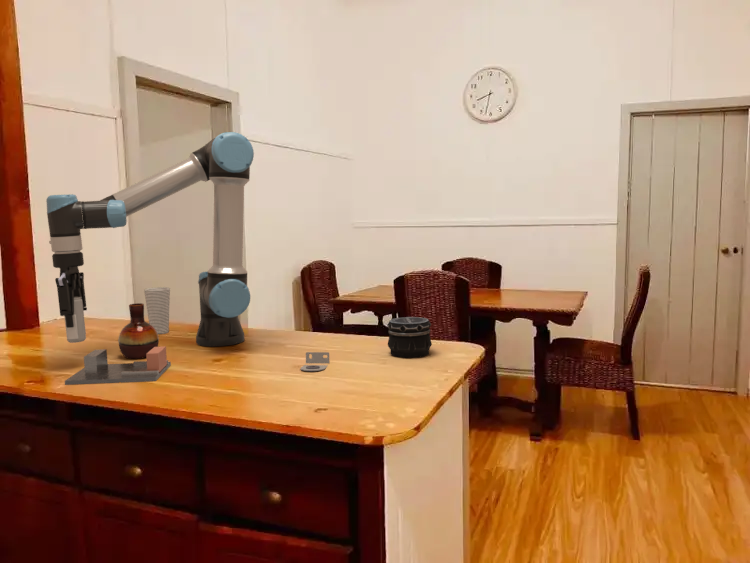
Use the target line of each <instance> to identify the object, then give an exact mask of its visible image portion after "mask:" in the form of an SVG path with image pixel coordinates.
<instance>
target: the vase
mask: <svg viewBox="0 0 750 563" xmlns="http://www.w3.org/2000/svg"><path fill="white" fill-rule="evenodd" d="M128 310H129V316H130V321H129V323H127V324H125V326H123V328H122V329H121V330H120V332H119V335H118V342H117V343H118V346H119V351H120V352H121V355H123V357H124V358H126V359H129V360H141V359H147V358H146V354H147V353H148V352H149V351H150V350H151V349H153V348H154V347H159V342H160V341H159V339H160V338H159V334H158V333H157V331H156V329H155V328H154V327H153V326H152V325H151V324H149V322H147V321H145V304H144V303H141V302H139V303H138V302H137V303H130V304H129V305H128Z"/></svg>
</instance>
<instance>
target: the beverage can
mask: <svg viewBox="0 0 750 563" xmlns="http://www.w3.org/2000/svg"><path fill="white" fill-rule="evenodd" d="M74 315H76V321H77V330H78V339H67V338H66V340H67V342H68V343H72V344H73V343H75V344H76V343H81V342H85V340H86V339H87V335H86V334H87V332H86V333H85V330H86V323H85V322H86V321H85V312H84V311H83V302H82V299H81V297H74ZM84 321H85V322H84Z"/></svg>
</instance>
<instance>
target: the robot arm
mask: <svg viewBox="0 0 750 563" xmlns="http://www.w3.org/2000/svg"><path fill="white" fill-rule="evenodd" d="M254 154H255V152H254V147H253V145H252V143H251V141H250V140H249V139H248V138H247V137H246V136H245V135H243V134H242V133H239V132H236V131H235V132H234V131H230V132H229V131H228V132H227V131H225V132H222V133H219V134H218V135H217V136H215V137H213V138H212V139H210V140H209V141H208V142H207V143H205V145H203V146H201V147H200V148H199V149H197V150H195V151H193V152H191V153H189V155H188V156H189V157H188V158H186V159H183V160H181V161H180V162H177V163H175V164H172V165H171V166H169V167H167V168H165V169H163V170H161V171H158V172H157V173H154V174H152V175H150V176H148V177H146V178H144V179H142V180H140V181H137V182H136V183H135V182H134V184H131V185H129V186H127V187H125V188H124V189H120V190H119V191H117V192H115V193H112V194H111V195H109V196H106V197H104V198H102V199H100V200H89V201H88V200H87V201H85V200H82V201H80V200H79V199H78V197H77V195H76V194H73V193H72V194H71V193H70V194H51V195H48V196H47V197H46V201H45V202H46V216H47V224H48V231H49V237H50V240H49V244H50V246H51V252H53V254H52V255H51V258H52V259H51V260H52V266H53V268H55V269H56V268H57V269H59V277H55V284H56V289H57V299H58V307H59V315H60V317H63V318H64V323H65V334H66V340H67V339H78V330H77V321H76V315H74V297H81V299H82V302H83V312H84V311H87V310H88V308H87V300H86V290H85V289H86V288H85V283H84V282H85V281H84V280H85V277H84V276H85V274H84V272H80V270H79V267H82V266H84V264H85V263H84V262H85V261H84V253H83V252H82V250H83V248H84V247H83V240H82V233H81V230H87V229H88V230H89V229H111V228H113V229H116V228H123V227H126V225H127V222H128V221H127V217H129V216H131V215H132V214H135V213H137V212H139V211H142V210H144V209H145V208H148V207H150V206H152V205H154V204H155V203H156V204H157V203H158V202H160V201H162V200H164V199H166V198H168V197H170V196H172V195H173V194H174V195H175V194H176V193H178V192H180V191H182V190H185V189H187V188H189V187H190V186H192V185H194V184H197V183H199V182H204V183H207V182H208V181H211V182H212V183H213V186H214V188H213V190H214V193H213V236H212V237H213V241H212V242H213V244H212V245H213V247H212V248H213V249H212V250H213V251H212V266H211V267H210V268H209V269H207V271H202V272H200V273H199V274H198V281H197V284H198V291H199V307H200V308H199V310H200V321H199V325H198V329H197V332H196V335H195V336H196V337H195V339H196V340H195V341H196V342H195V343H196V345H198V346H201V347H225V346H232V345H237V344H240V343H243V342H244V341H245V332H244V330H243V327H242V324H241V322H240V319H239V316H240V315H242V314H243V313H244V312H246V310H247V309H248V308H249V306H250V303H251V292H250V289H249V287H248V270H246V268H244V267H243V259H244V258H243V257H244V256H243V255H244V254H243V253H244V252H243V251H244V250H243V248H244V245H243V244H244V208H245V206H244V204H245V186H246V185H247V184H248V182H250V174H251V172H250V171H251V170H250V169H251V168H250V167H251V165H252V163H253V160H254ZM84 322H86V320H84ZM85 333H86V334H87V331H86V329H85Z"/></svg>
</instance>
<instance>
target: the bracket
mask: <svg viewBox="0 0 750 563" xmlns="http://www.w3.org/2000/svg"><path fill="white" fill-rule="evenodd" d="M310 355H311V358H310ZM324 356H326V357H324ZM307 364H308V365H307ZM309 364H310V365H309ZM316 364H317V365H316ZM320 364H321V365H320ZM322 364H323V365H322ZM324 364H327V365H324ZM328 364H330V352H325V351H322V352H321V351H320V352H319V351H313V352H311V351H307V352H305V364H304V365H302V366H301V367H300V370H301V371H305V372H317V371H318V372H319V371H324V370H326V369H327V367H328Z"/></svg>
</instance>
